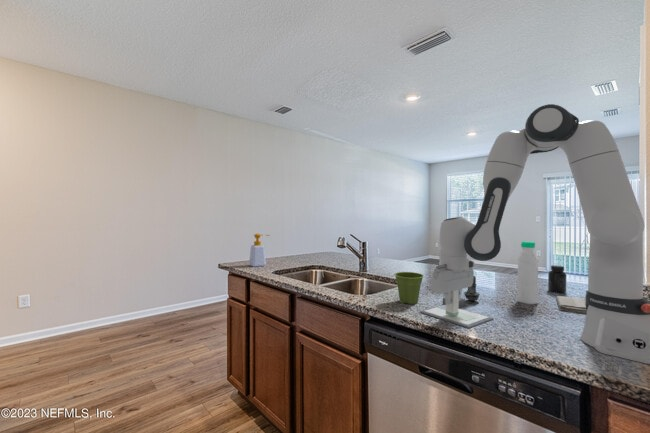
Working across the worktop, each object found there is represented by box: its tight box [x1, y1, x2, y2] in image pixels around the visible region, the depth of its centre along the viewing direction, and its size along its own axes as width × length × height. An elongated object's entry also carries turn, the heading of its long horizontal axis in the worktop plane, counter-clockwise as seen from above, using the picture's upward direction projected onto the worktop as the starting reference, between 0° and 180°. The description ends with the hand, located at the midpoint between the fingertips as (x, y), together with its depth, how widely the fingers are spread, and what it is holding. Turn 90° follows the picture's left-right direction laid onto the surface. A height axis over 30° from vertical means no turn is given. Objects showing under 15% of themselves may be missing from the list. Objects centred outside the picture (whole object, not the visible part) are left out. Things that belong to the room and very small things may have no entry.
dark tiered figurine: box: [463, 275, 480, 305], centre depth 126 cm, size 6×6×12 cm
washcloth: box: [555, 295, 587, 315], centre depth 120 cm, size 12×18×3 cm, turn 148°
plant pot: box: [393, 271, 425, 305], centre depth 127 cm, size 12×12×11 cm
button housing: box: [442, 297, 466, 308], centre depth 122 cm, size 6×6×2 cm
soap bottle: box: [248, 233, 270, 268], centre depth 214 cm, size 10×14×22 cm
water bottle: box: [516, 240, 539, 305], centre depth 126 cm, size 7×7×25 cm
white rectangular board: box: [419, 304, 494, 329], centre depth 109 cm, size 19×15×1 cm
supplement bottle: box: [547, 265, 567, 294], centre depth 144 cm, size 7×7×12 cm
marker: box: [446, 290, 460, 316], centre depth 108 cm, size 3×3×10 cm
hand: (452, 302), depth 108 cm, fingers closed on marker, 3 cm apart
